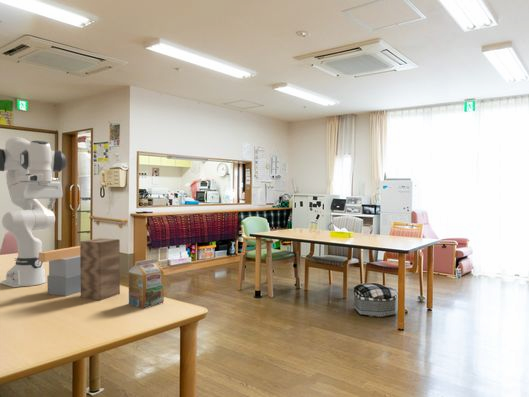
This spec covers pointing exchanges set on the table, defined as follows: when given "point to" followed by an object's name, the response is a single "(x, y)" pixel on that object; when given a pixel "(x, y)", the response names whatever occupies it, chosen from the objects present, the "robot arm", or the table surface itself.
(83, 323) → the table surface
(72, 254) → the orange bar
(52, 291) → the slate pedestal
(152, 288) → the milk carton
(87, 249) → the walnut post
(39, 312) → the table surface
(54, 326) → the table surface
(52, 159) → the robot arm
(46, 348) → the table surface
